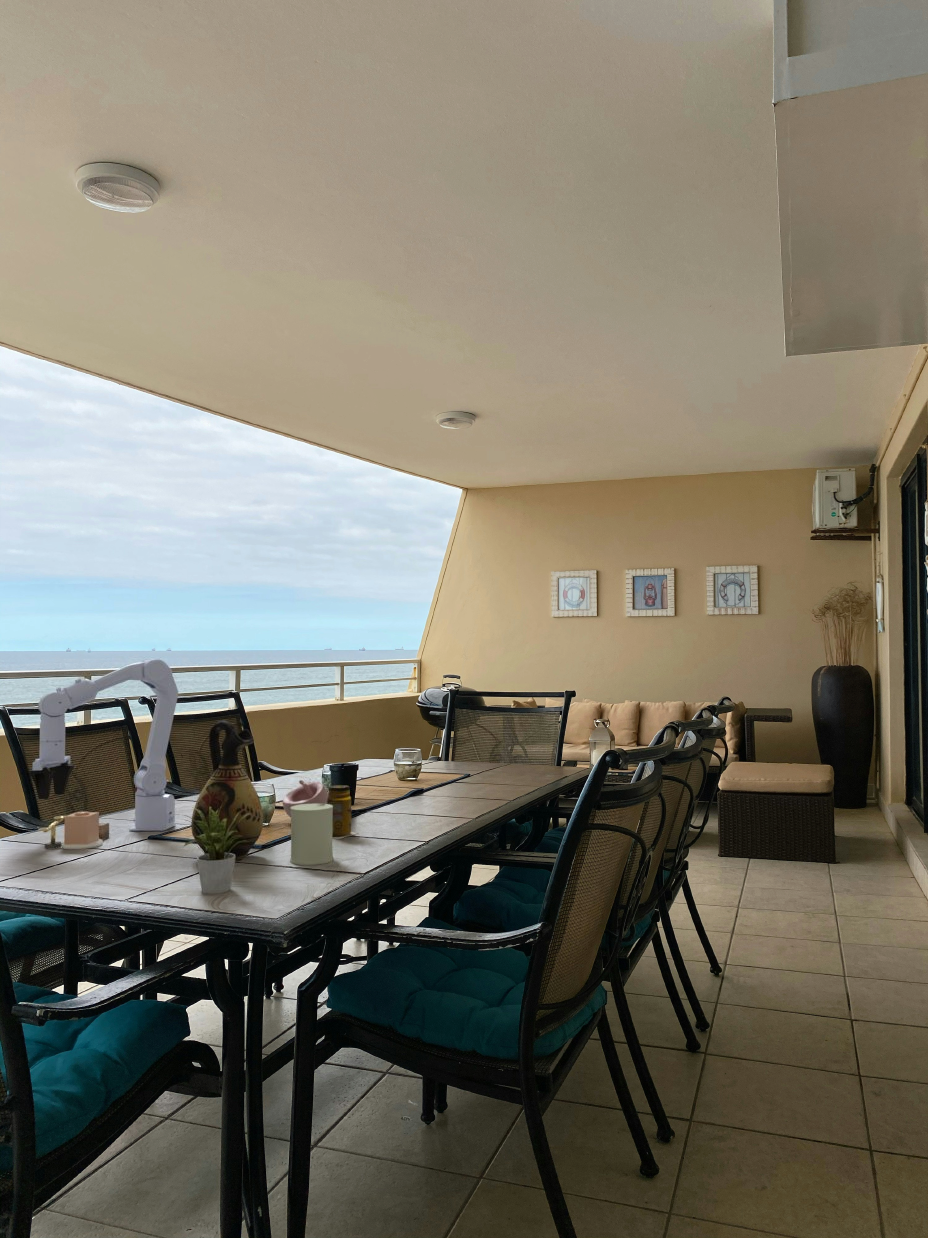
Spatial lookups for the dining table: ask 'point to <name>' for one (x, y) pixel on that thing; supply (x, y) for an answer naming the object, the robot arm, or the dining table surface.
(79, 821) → the peach wooden cube
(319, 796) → the mortar and pestle
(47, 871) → the dining table surface
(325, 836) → the can
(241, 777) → the ceramic jug
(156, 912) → the dining table surface
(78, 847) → the saucer
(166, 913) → the dining table surface
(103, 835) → the block
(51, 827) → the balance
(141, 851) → the dining table surface
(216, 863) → the house plant
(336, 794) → the condiment
